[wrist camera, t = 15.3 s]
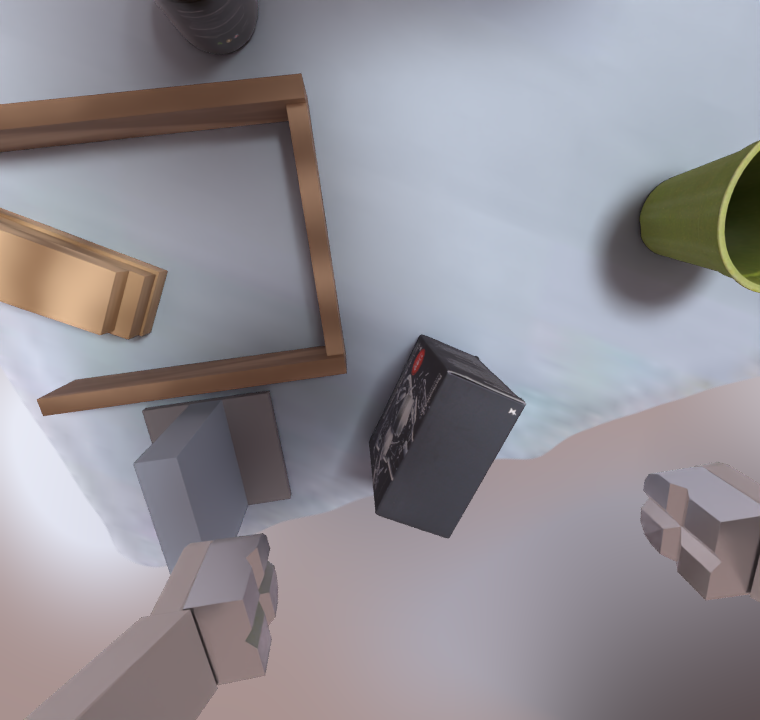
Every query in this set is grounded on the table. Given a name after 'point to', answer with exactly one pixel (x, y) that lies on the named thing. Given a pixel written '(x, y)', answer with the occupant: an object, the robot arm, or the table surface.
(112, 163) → the table surface
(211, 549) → the robot arm
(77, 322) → the offcut stack
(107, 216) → the table surface
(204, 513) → the gray block
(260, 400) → the charcoal mat
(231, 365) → the walnut rack
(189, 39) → the supplement bottle
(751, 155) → the plant pot
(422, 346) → the small box
